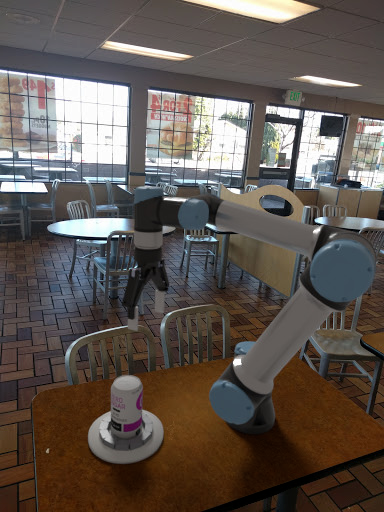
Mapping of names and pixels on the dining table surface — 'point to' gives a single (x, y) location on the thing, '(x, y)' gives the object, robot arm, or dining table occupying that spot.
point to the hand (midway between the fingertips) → (146, 320)
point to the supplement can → (126, 407)
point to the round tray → (127, 454)
